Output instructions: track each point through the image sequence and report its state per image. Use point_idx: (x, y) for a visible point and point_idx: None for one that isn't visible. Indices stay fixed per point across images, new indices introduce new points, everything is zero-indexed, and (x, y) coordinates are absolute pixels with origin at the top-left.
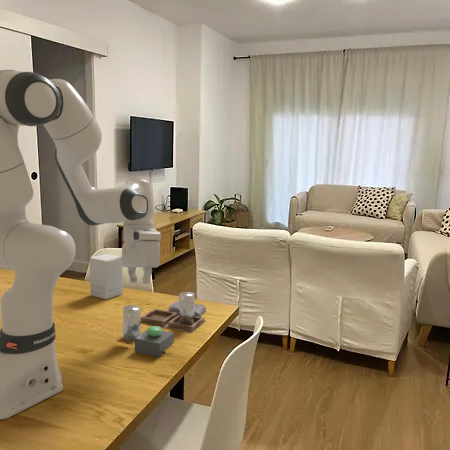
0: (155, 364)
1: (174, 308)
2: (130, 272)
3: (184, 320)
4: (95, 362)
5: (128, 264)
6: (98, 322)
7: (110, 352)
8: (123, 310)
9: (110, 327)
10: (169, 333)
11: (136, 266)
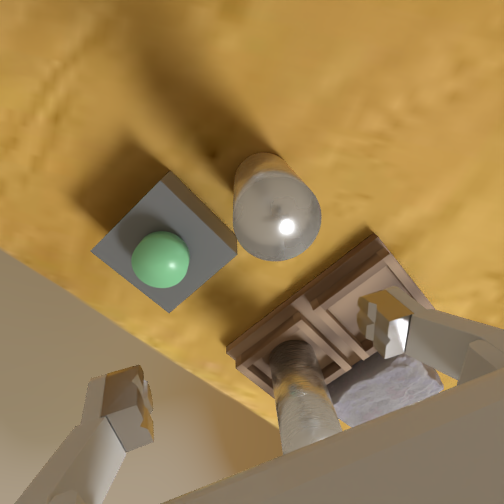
0: (61, 208)
1: (388, 364)
2: (458, 341)
3: (276, 363)
4: (117, 3)
5: (500, 401)
6: (482, 98)
7: (189, 84)
8: (276, 175)
9: (408, 135)
10: (168, 300)
11: (226, 483)
